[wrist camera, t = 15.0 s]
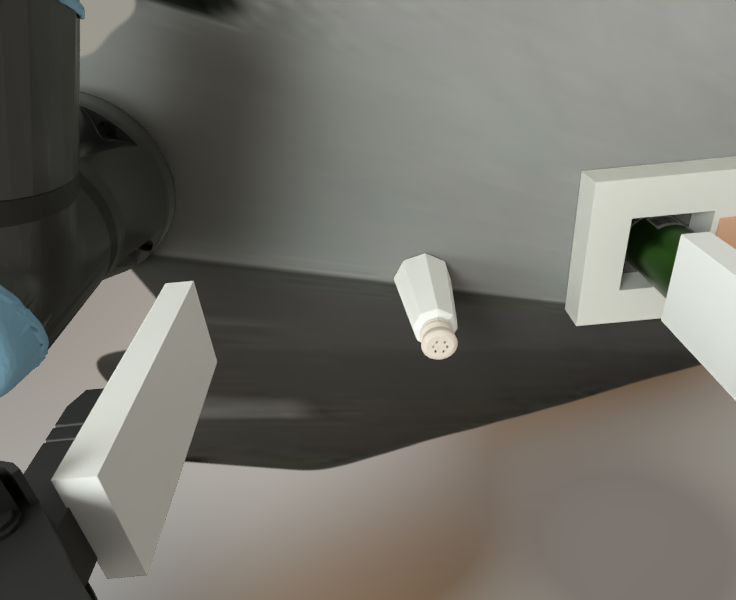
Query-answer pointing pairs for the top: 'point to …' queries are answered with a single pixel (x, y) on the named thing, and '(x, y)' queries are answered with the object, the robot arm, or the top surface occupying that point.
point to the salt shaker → (429, 304)
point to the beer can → (655, 248)
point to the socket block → (612, 227)
